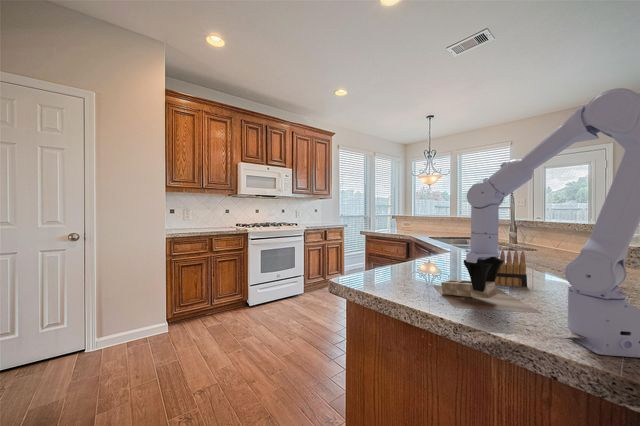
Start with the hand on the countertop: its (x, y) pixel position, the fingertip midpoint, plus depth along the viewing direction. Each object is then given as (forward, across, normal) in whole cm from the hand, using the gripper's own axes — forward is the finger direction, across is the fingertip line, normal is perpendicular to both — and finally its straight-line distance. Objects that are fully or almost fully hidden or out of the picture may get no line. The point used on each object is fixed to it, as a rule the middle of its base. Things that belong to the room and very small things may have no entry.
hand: (483, 288), depth 63 cm
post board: (+5, -3, -2) cm, 6 cm away
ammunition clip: (+5, -22, -2) cm, 23 cm away
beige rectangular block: (+2, 0, -3) cm, 4 cm away
